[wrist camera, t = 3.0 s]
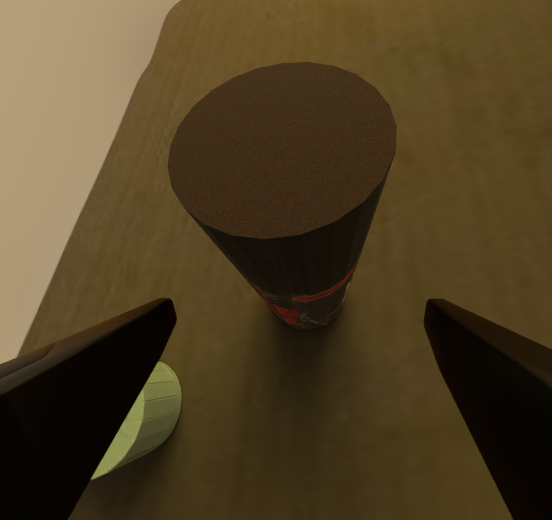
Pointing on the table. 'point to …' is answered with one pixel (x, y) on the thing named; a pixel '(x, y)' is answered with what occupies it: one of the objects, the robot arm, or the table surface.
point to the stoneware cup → (146, 420)
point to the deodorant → (287, 180)
